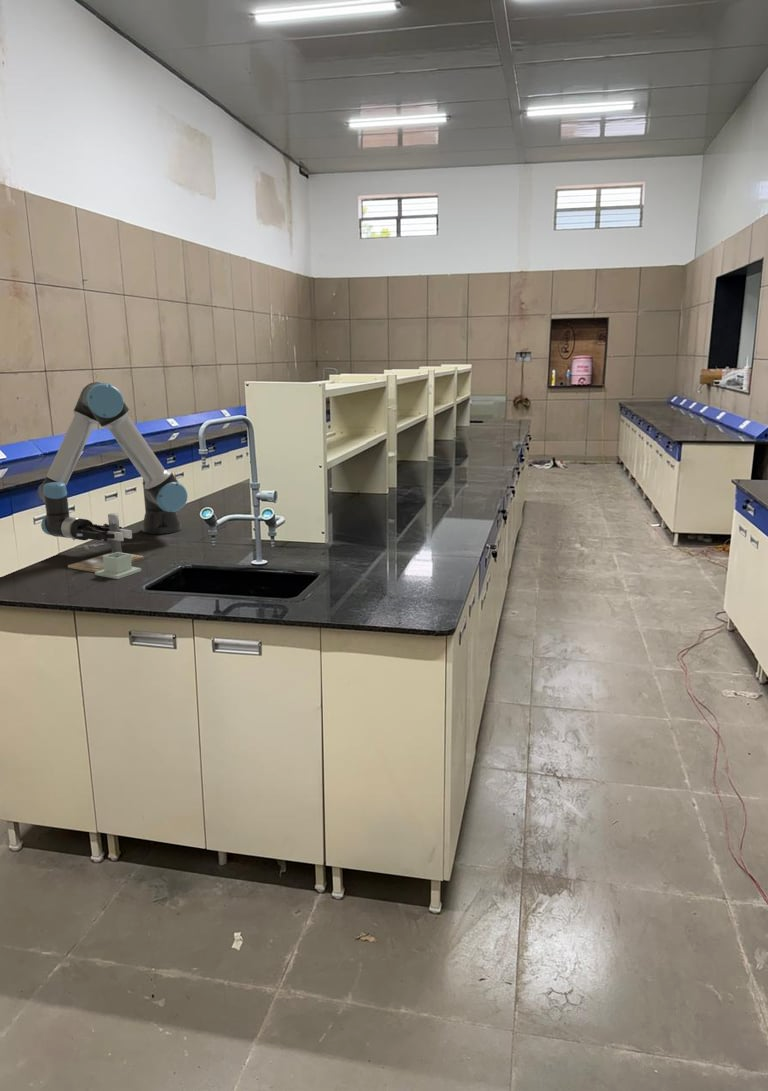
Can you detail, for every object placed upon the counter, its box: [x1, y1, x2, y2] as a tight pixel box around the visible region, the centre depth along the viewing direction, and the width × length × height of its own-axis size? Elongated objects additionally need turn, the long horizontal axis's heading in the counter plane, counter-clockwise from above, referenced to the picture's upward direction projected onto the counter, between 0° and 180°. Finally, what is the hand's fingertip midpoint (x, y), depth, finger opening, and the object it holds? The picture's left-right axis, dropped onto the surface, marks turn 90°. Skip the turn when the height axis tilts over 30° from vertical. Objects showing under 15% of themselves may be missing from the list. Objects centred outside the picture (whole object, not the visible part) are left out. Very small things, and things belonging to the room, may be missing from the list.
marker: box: [107, 512, 123, 553], centre depth 252 cm, size 3×3×15 cm
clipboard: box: [67, 551, 144, 573], centre depth 250 cm, size 20×14×2 cm
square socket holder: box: [94, 552, 142, 580], centre depth 238 cm, size 10×10×6 cm
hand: (126, 535), depth 250 cm, fingers closed on marker, 3 cm apart
